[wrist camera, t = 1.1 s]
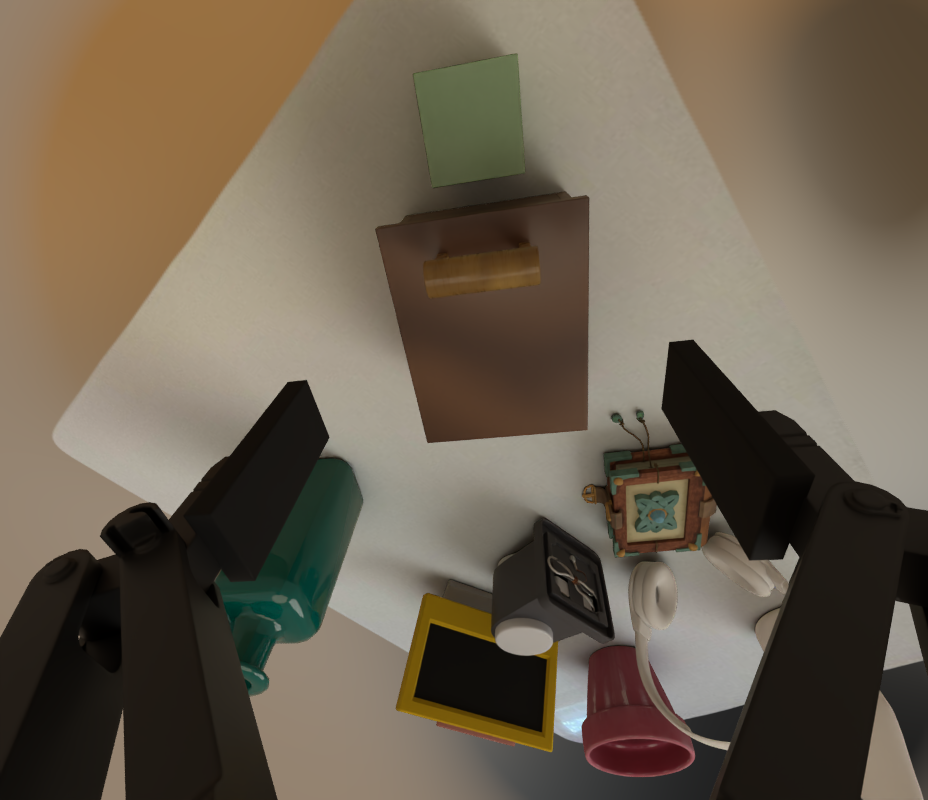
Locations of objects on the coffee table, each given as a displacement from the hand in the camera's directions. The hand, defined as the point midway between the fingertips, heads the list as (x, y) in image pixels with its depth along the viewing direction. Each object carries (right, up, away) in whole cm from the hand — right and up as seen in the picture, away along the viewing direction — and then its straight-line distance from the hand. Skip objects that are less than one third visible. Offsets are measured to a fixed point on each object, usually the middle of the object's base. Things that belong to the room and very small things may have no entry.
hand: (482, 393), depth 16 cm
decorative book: (+19, -8, +32) cm, 38 cm away
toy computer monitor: (+2, -30, +47) cm, 56 cm away
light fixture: (+9, -21, +41) cm, 47 cm away
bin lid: (+1, +4, +14) cm, 15 cm away
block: (0, +20, +15) cm, 25 cm away
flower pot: (+24, -42, +53) cm, 72 cm away
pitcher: (-18, -10, +36) cm, 41 cm away
